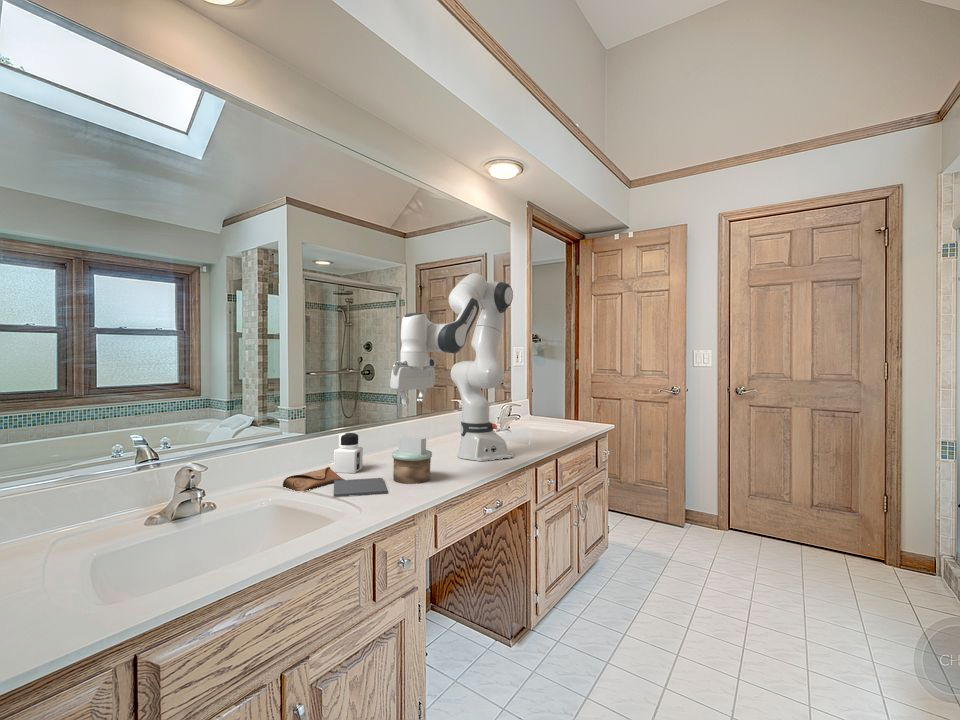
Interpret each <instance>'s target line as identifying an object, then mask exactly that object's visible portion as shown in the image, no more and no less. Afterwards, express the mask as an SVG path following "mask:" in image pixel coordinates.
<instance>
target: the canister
mask: <svg viewBox="0 0 960 720" xmlns="http://www.w3.org/2000/svg"><path fill="white" fill-rule="evenodd" d="M431 458H432V457H431ZM431 458H429V459H425V460H417V461H405V460H397V459H394V458H393V470H392V471H393V474H392V475H393V477H392V478H393V481H394V482H395V483H398V484H404V485H405V484H406V485H413V484H414V485H415V484H416V483H417V484H422V483H423V484H424V483H427V482H429V481H430V480H431V460H432V459H431Z"/></svg>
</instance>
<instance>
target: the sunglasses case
mask: <svg viewBox="0 0 960 720" xmlns="http://www.w3.org/2000/svg"><path fill="white" fill-rule="evenodd" d="M336 480H346V479H344V478H343V477H341V476H340V475H339V474H337V473H335V472H334V471H333V469H331V467H330V466H327V467H325V468H322V469H318V470H313V471H312V470H311V471H310V472H305V473H302V474H294V475H290V476H287V477H286V478H285V479H284V480H283V483H282V488H283V487H286V488H289V489H292V490H295V491H305V490H308V491H310V490H309V489H312V490H314V489H313V488H315V489H317V487H318V488H321V486H322V487H325V486H328V484H329V485H331V484H334V481H336Z"/></svg>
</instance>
